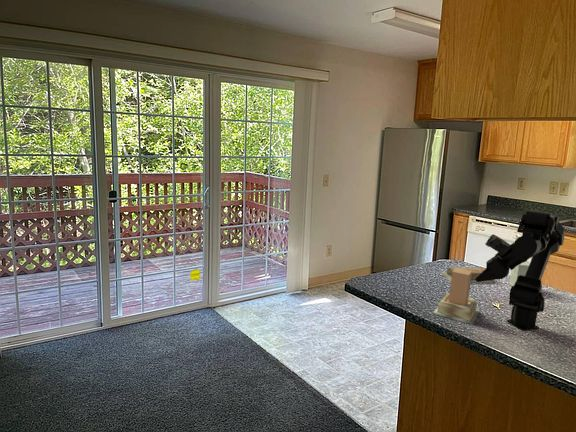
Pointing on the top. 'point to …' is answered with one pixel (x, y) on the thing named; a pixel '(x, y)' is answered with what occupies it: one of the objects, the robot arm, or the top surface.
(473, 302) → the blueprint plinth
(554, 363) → the top surface
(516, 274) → the small box
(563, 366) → the top surface
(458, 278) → the column block
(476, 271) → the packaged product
